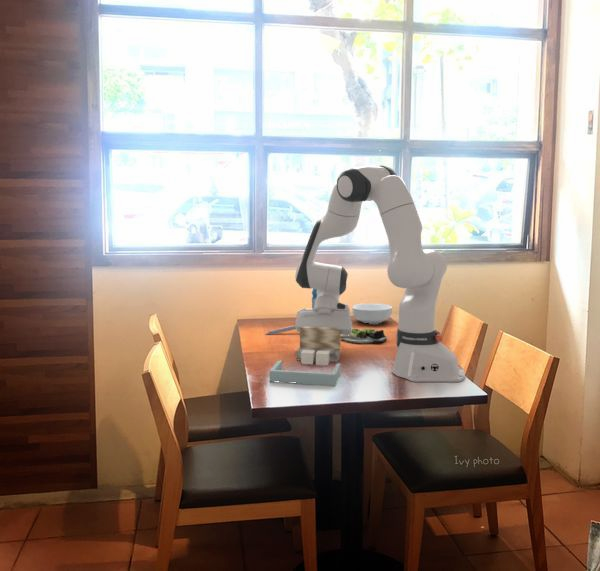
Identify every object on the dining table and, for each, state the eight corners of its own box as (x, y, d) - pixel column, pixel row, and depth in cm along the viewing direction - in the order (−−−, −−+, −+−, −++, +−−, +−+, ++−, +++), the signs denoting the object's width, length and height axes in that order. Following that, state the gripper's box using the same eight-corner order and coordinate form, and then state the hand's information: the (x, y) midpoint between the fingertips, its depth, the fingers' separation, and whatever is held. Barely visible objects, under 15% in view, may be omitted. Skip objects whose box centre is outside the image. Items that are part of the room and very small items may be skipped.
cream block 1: (314, 361, 218) (314, 350, 217) (312, 364, 214) (312, 353, 214) (303, 361, 219) (303, 349, 218) (300, 364, 215) (300, 352, 214)
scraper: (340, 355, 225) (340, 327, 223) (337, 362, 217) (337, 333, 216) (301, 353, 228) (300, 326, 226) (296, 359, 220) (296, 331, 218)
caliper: (315, 332, 260) (315, 317, 259) (315, 333, 259) (316, 318, 258) (265, 334, 257) (264, 319, 256) (265, 335, 256) (265, 319, 255)
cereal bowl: (387, 318, 287) (387, 302, 286) (395, 326, 270) (395, 309, 269) (349, 318, 286) (349, 302, 285) (355, 327, 269) (355, 310, 268)
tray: (340, 374, 203) (340, 363, 203) (334, 386, 192) (335, 374, 191) (278, 370, 207) (278, 360, 207) (269, 381, 196) (269, 370, 195)
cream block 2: (329, 362, 217) (329, 351, 217) (327, 365, 213) (327, 354, 213) (317, 361, 218) (317, 350, 217) (315, 365, 214) (315, 353, 213)
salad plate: (339, 346, 239) (339, 334, 239) (332, 334, 257) (332, 323, 256) (390, 345, 241) (390, 333, 240) (380, 333, 259) (380, 322, 258)
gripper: (296, 303, 234) (291, 336, 226) (352, 305, 230) (349, 339, 222) (299, 313, 239) (293, 345, 231) (354, 315, 235) (350, 348, 227)
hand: (321, 342), depth 226 cm, fingers closed
